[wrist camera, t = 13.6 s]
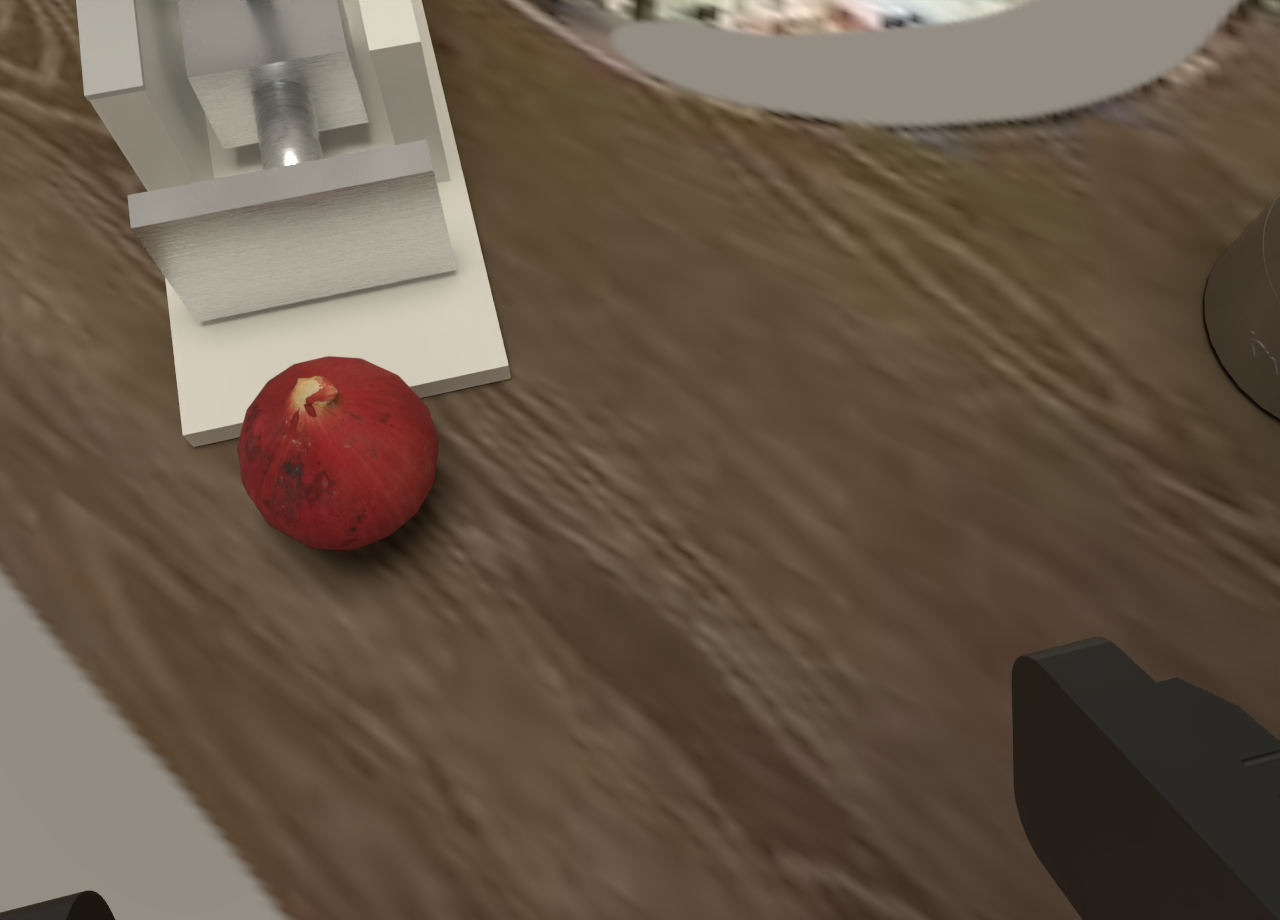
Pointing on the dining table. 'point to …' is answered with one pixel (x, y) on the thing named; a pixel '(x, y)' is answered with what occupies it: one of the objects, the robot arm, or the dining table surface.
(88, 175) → the dining table surface
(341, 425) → the red pomegranate
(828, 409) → the dining table surface
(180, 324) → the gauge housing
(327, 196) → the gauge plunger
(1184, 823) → the robot arm
